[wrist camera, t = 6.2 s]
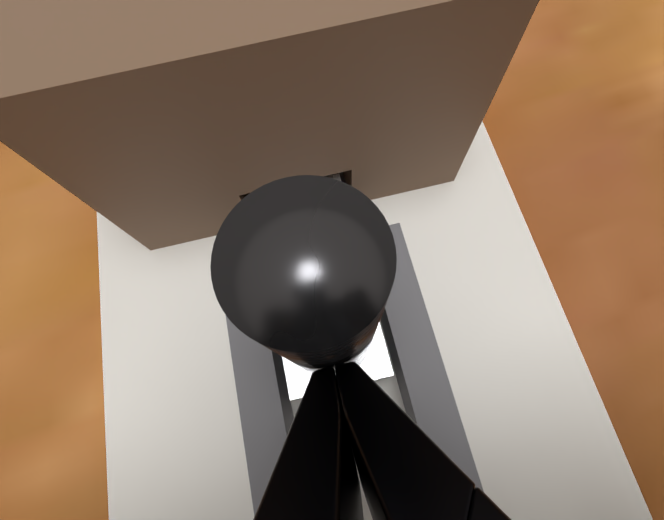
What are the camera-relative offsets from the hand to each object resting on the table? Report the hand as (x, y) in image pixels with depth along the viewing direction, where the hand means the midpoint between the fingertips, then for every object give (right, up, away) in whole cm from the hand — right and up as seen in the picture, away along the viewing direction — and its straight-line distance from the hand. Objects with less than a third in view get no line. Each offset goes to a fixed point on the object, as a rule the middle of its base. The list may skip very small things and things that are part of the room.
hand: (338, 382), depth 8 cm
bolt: (-1, +3, +7) cm, 7 cm away
